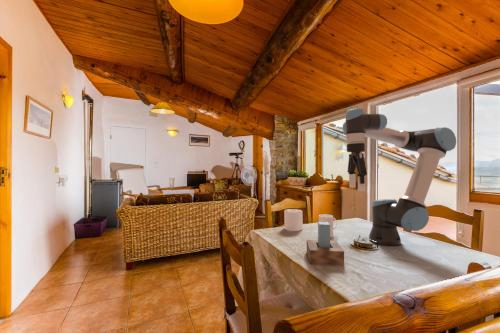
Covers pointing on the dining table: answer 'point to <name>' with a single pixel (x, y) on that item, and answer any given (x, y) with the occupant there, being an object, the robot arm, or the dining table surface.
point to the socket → (325, 253)
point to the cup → (293, 220)
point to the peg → (323, 235)
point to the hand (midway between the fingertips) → (356, 189)
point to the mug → (330, 220)
